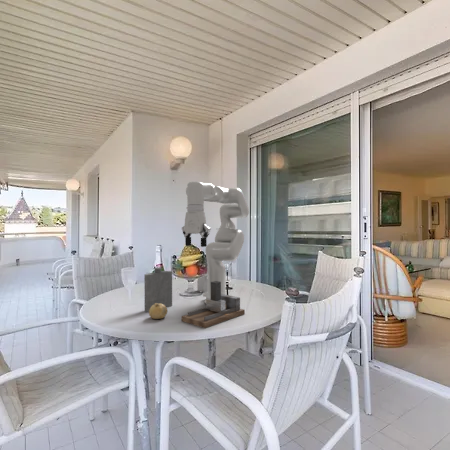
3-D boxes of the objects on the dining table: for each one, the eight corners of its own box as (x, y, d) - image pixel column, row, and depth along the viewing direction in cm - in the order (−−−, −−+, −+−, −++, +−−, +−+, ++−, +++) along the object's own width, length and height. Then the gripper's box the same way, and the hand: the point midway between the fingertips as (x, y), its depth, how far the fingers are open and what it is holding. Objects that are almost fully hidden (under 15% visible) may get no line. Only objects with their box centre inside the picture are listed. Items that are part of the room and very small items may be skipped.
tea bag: (203, 292, 193) (203, 275, 193) (197, 290, 198) (197, 274, 198) (208, 291, 195) (208, 275, 195) (202, 289, 200) (202, 273, 200)
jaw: (206, 309, 145) (206, 281, 145) (211, 307, 147) (211, 280, 147) (220, 312, 139) (220, 283, 139) (225, 311, 141) (225, 282, 141)
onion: (147, 316, 143) (147, 301, 143) (164, 314, 147) (164, 299, 147) (150, 321, 136) (150, 305, 136) (169, 319, 140) (169, 303, 139)
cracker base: (181, 320, 137) (181, 303, 137) (221, 308, 157) (221, 293, 157) (204, 328, 128) (204, 309, 128) (244, 313, 148) (244, 297, 148)
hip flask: (147, 312, 150) (147, 269, 150) (142, 310, 153) (142, 269, 153) (173, 305, 162) (173, 266, 162) (168, 304, 165) (168, 265, 165)
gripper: (176, 209, 150) (176, 245, 150) (204, 208, 139) (204, 247, 140) (188, 209, 156) (188, 244, 156) (215, 208, 145) (215, 246, 145)
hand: (195, 246), depth 148 cm, fingers open, 9 cm apart
